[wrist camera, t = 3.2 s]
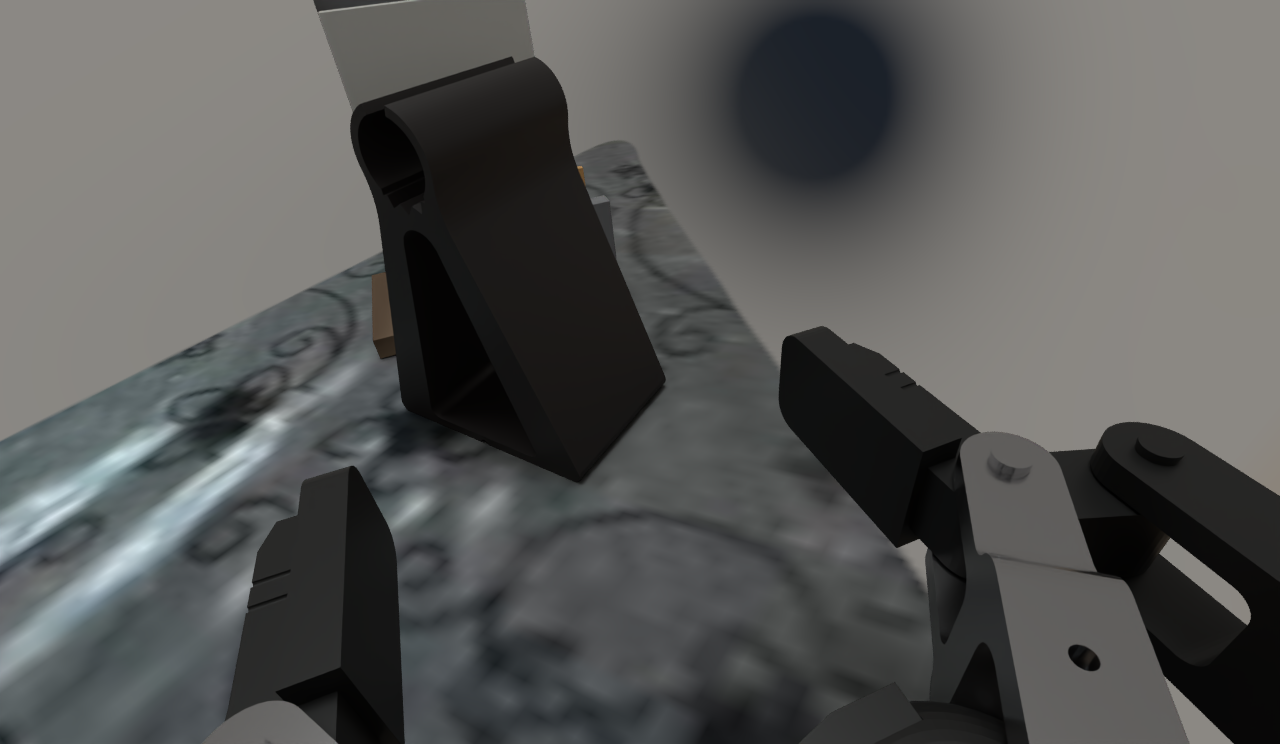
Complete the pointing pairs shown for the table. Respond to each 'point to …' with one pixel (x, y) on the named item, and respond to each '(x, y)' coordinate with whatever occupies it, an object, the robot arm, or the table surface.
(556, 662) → the table surface
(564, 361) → the phone stand
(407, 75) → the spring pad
